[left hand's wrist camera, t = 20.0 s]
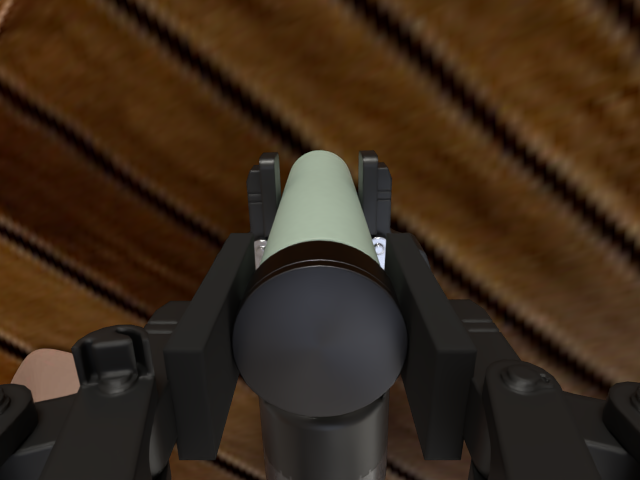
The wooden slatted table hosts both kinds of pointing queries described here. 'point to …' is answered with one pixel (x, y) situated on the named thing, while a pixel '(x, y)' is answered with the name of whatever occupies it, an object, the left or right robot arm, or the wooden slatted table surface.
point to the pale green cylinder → (319, 207)
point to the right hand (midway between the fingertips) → (317, 155)
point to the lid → (319, 330)
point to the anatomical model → (48, 374)
